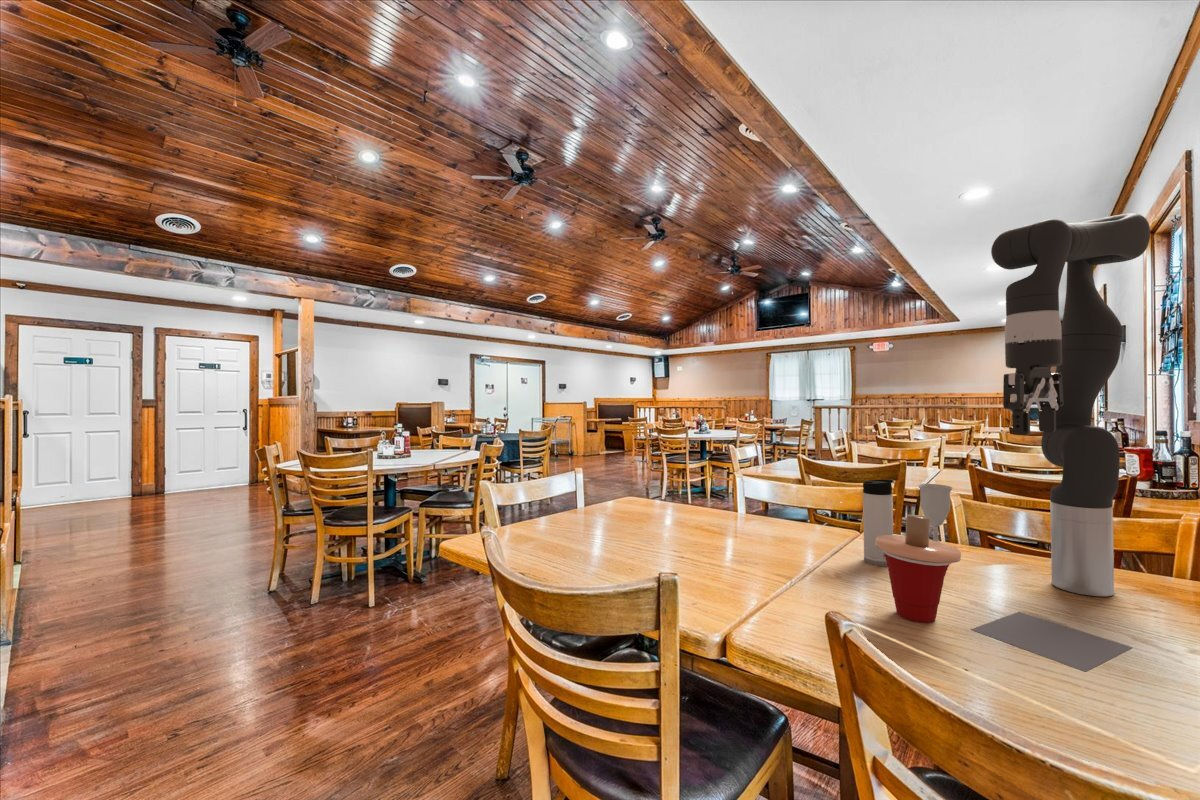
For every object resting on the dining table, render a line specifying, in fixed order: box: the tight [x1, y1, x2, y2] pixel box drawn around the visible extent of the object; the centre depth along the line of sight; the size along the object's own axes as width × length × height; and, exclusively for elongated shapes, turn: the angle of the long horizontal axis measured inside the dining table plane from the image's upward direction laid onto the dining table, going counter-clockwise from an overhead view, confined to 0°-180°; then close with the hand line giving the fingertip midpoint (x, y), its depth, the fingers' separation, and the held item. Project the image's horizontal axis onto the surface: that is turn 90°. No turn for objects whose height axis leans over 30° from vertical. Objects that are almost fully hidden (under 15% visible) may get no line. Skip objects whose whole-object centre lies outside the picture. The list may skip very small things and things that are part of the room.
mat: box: [970, 611, 1134, 673], centre depth 82 cm, size 15×15×1 cm
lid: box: [875, 514, 962, 564], centre depth 92 cm, size 13×13×6 cm
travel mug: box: [862, 478, 895, 567], centre depth 122 cm, size 6×7×20 cm
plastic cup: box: [882, 550, 952, 624], centre depth 91 cm, size 11×11×12 cm
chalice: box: [917, 483, 953, 543], centre depth 122 cm, size 7×7×18 cm
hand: (1034, 433), depth 88 cm, fingers open, 8 cm apart
